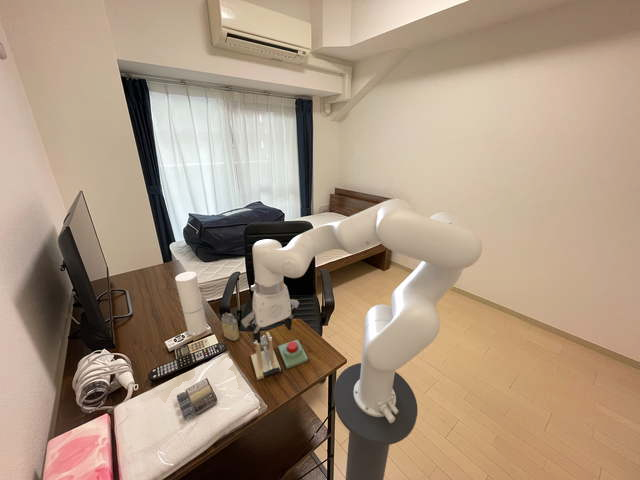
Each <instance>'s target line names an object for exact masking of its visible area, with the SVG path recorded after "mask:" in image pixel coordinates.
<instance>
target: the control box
mask: <svg viewBox="0 0 640 480" xmlns="http://www.w3.org/2000/svg"><path fill="white" fill-rule="evenodd" d="M291 342H296V343H297V351H296V352H294V353H290V352H288V350H287V345H288V343H289V342H286V343H283V344H280V345H277V349H278V352H279V354H280V356H281V359H282V361H283V364H284V366H285V369H290V368H293V367H296V366H298V365H301V364H303V363H306V362H308V361H309V358H308V355H307V354H306V352H305V350H304V348H303V346H302V344H301V342H300V341H299V339H295V340H292V341H291Z"/></svg>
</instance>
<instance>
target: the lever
mask: <svg viewBox="0 0 640 480" xmlns="http://www.w3.org/2000/svg"><path fill="white" fill-rule="evenodd" d="M260 337H261V342H260V349H262V350H263V351H264V354H265V357H266V361H267V365H268V369H269V370H268V371H265V372H263V377H264V378H263V379H267V378H269V377H272V376H275V375H277V374H280V373H281V371H280V368H281V367H280V368H279V367H276V368H272V365H271V361H270V357H269V354H268V350H267V346H268V342H267V339H266V335H263V336H260Z"/></svg>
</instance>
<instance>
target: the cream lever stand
mask: <svg viewBox="0 0 640 480" xmlns="http://www.w3.org/2000/svg"><path fill="white" fill-rule="evenodd" d="M265 336H266V339H267V342H268V346H267V350H268V354H269V357H270V361H271V365H272V368H276V367H279V368H280V372H281V371H282V368H281V365H280V363H279V360H278V358H277V355H276V353H275V351H274V346H273V337H272V336H271V333H270V331H266V332H265ZM253 346H254V348H255V353H254V354H250V359H251V362H252V365H253V366H252V367H253V369H254V374H255V376H256V380H257V381H258V380H259V381H260V380H262V379H264V377H263V372H265V371H268V370H269V369H268V365H267V361H266V357H265V354H264V350H263V351H261V349H262V348H261V346H260V343H259V344H258V342H257V340H254V342H253Z"/></svg>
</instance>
